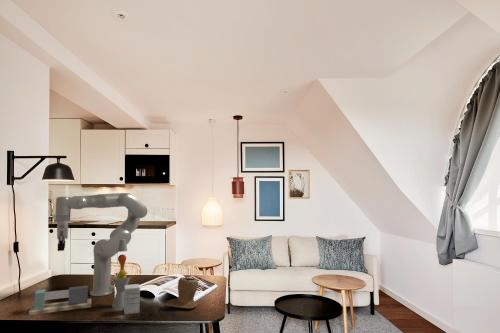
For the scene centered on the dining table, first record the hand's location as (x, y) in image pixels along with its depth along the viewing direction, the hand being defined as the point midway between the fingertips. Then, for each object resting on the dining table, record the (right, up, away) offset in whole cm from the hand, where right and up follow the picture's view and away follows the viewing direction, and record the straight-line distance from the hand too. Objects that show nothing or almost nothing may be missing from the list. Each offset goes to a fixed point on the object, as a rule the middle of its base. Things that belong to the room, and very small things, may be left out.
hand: (61, 249), depth 190 cm
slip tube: (+6, -22, -13) cm, 26 cm away
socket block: (-2, -26, -17) cm, 31 cm away
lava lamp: (+37, -28, -9) cm, 47 cm away
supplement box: (+45, -28, -17) cm, 56 cm away
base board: (+7, -27, -13) cm, 31 cm away
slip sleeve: (+14, -26, -9) cm, 31 cm away
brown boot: (+70, -28, -10) cm, 77 cm away
